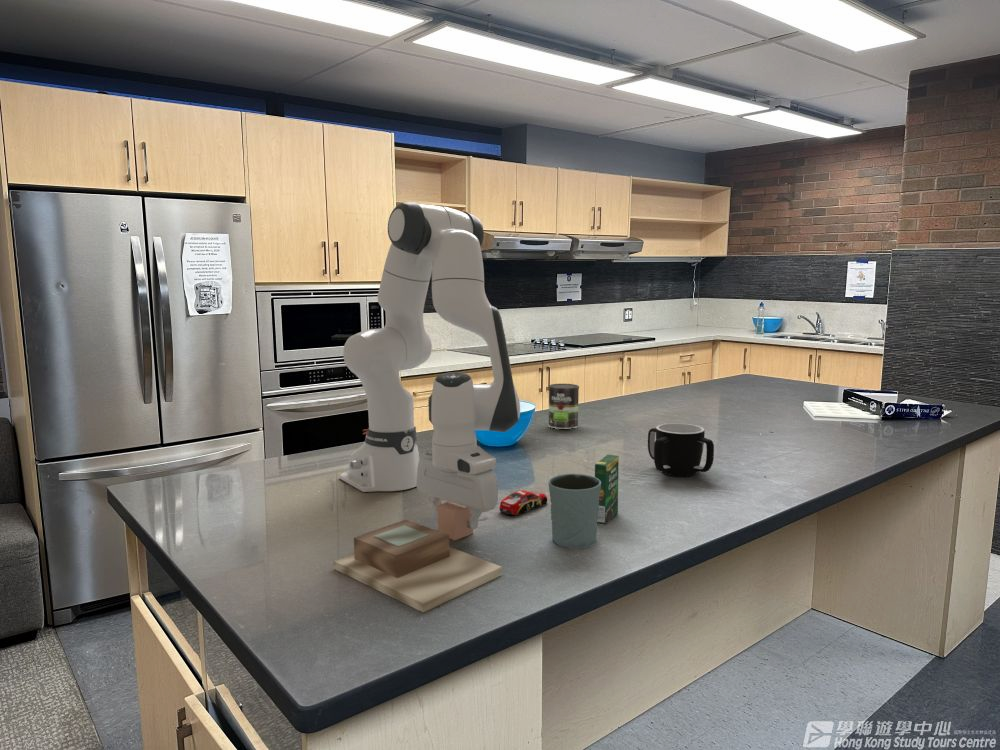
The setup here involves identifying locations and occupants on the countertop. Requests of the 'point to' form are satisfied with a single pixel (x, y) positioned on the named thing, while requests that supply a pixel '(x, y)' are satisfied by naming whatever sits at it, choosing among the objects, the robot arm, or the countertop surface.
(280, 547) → the countertop surface
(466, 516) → the terracotta block
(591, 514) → the grey green cup
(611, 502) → the coffee box
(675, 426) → the mug
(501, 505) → the race car
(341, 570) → the build board
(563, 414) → the coffee can
